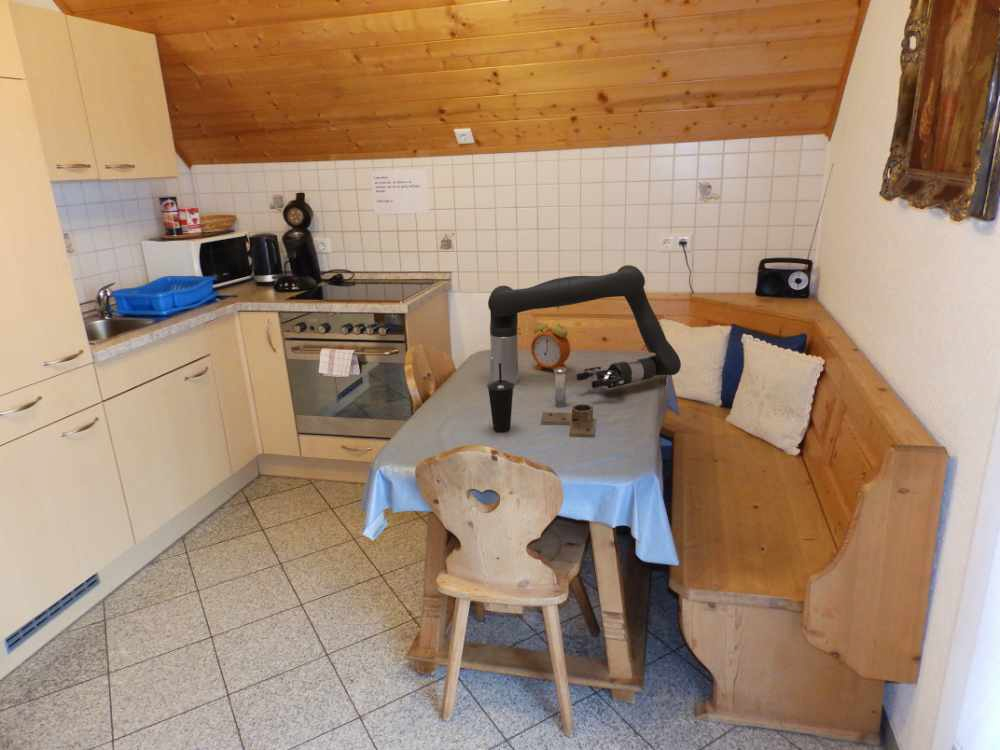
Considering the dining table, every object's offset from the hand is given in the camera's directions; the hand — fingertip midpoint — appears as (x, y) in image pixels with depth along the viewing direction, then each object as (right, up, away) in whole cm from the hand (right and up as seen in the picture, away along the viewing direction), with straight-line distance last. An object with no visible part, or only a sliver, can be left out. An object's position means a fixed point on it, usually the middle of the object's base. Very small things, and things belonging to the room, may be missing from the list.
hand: (584, 381), depth 213 cm
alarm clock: (-8, +4, +33) cm, 34 cm away
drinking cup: (-26, -14, -19) cm, 35 cm away
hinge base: (-7, -13, -18) cm, 23 cm away
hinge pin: (-8, -8, -2) cm, 11 cm away
